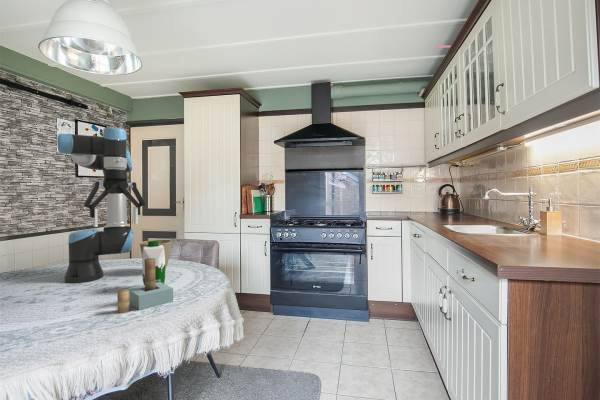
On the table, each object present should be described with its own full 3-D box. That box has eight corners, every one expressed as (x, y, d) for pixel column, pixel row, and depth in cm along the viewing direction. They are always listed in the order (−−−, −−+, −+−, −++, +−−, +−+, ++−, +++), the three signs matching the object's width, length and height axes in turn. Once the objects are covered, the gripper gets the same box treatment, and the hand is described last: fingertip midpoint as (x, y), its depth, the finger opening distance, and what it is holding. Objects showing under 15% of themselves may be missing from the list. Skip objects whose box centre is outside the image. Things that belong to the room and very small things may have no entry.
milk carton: (164, 284, 137) (164, 239, 137) (166, 290, 129) (165, 242, 129) (142, 287, 133) (141, 241, 133) (142, 293, 125) (141, 244, 125)
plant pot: (162, 267, 168) (161, 238, 167) (178, 271, 159) (177, 241, 159) (134, 273, 156) (133, 242, 155) (149, 278, 147) (149, 245, 146)
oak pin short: (116, 311, 106) (115, 291, 106) (127, 308, 109) (127, 288, 109) (119, 314, 104) (119, 293, 104) (131, 311, 106) (130, 291, 106)
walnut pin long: (143, 301, 116) (143, 259, 115) (153, 299, 118) (153, 257, 118) (147, 304, 113) (146, 260, 113) (157, 301, 116) (156, 259, 115)
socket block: (127, 301, 115) (127, 288, 115) (160, 294, 124) (160, 281, 124) (139, 310, 107) (138, 295, 107) (173, 301, 116) (173, 288, 116)
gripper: (77, 166, 105) (78, 228, 105) (153, 170, 123) (154, 223, 123) (73, 167, 110) (74, 227, 110) (146, 171, 128) (147, 222, 128)
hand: (116, 225), depth 117 cm, fingers open, 13 cm apart
